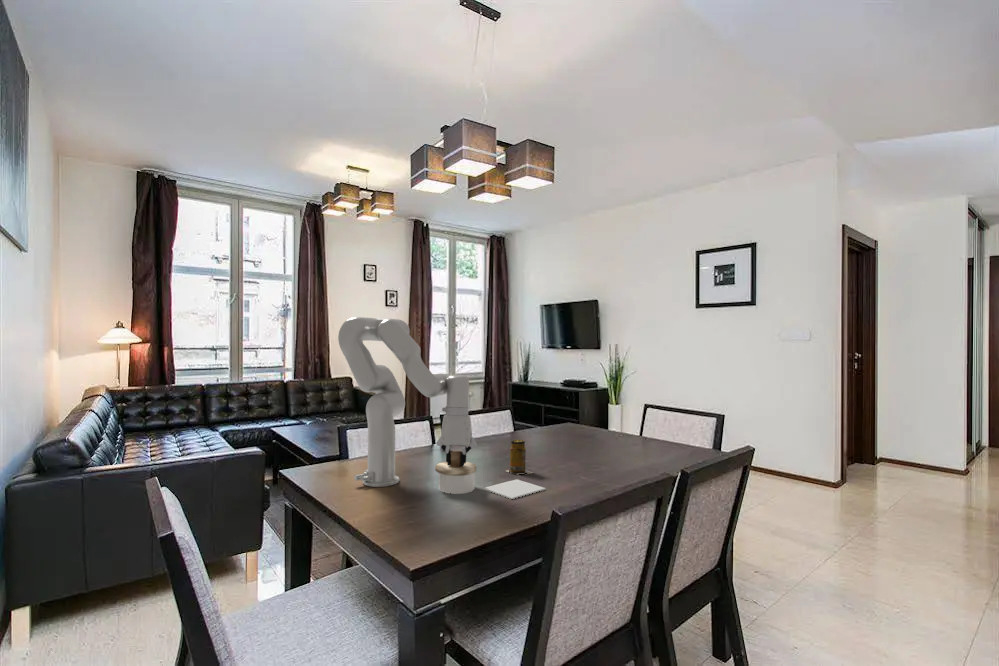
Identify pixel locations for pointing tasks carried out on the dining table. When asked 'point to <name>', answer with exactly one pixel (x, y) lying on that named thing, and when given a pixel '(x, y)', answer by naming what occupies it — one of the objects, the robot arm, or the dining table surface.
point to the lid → (455, 465)
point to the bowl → (457, 483)
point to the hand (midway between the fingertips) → (456, 464)
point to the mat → (514, 489)
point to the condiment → (517, 457)
